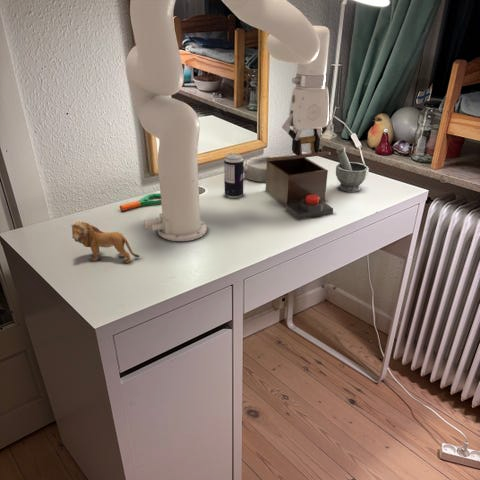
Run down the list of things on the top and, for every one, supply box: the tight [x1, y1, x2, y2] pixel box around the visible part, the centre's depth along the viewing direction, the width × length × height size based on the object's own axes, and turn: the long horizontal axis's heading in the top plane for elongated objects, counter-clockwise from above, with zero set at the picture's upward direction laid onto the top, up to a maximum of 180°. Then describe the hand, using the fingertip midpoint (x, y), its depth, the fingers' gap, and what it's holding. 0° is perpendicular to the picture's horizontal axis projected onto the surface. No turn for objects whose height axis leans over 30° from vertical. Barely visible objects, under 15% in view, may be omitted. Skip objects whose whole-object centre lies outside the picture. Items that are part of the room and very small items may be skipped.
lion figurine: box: [70, 221, 140, 264], centre depth 112 cm, size 15×5×9 cm, turn 90°
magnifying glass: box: [119, 192, 162, 212], centre depth 141 cm, size 15×6×2 cm, turn 133°
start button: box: [306, 195, 319, 205], centre depth 134 cm, size 4×4×2 cm
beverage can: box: [223, 152, 245, 199], centre depth 144 cm, size 6×6×12 cm
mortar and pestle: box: [335, 146, 370, 193], centre depth 150 cm, size 11×9×12 cm
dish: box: [244, 155, 272, 183], centre depth 161 cm, size 14×14×5 cm
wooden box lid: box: [267, 135, 331, 161], centre depth 140 cm, size 15×13×5 cm
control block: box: [286, 198, 334, 221], centre depth 136 cm, size 11×8×4 cm
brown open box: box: [265, 157, 329, 208], centre depth 145 cm, size 15×13×9 cm
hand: (305, 152), depth 136 cm, fingers closed on wooden box lid, 5 cm apart
